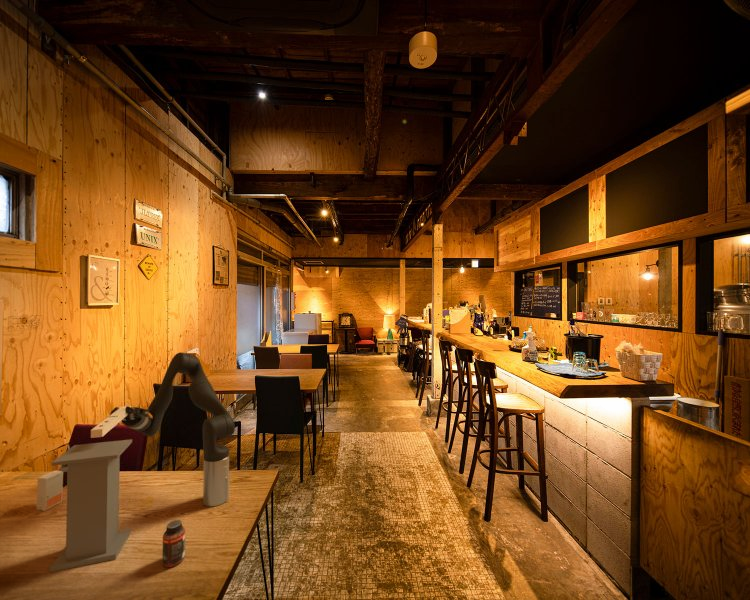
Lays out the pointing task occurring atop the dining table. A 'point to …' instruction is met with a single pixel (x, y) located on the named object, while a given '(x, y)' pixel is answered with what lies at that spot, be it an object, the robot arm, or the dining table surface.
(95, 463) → the gray lectern stand
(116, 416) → the white long bar
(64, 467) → the mate gourd
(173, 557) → the supplement bottle
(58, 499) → the skincare box
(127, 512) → the dining table surface
